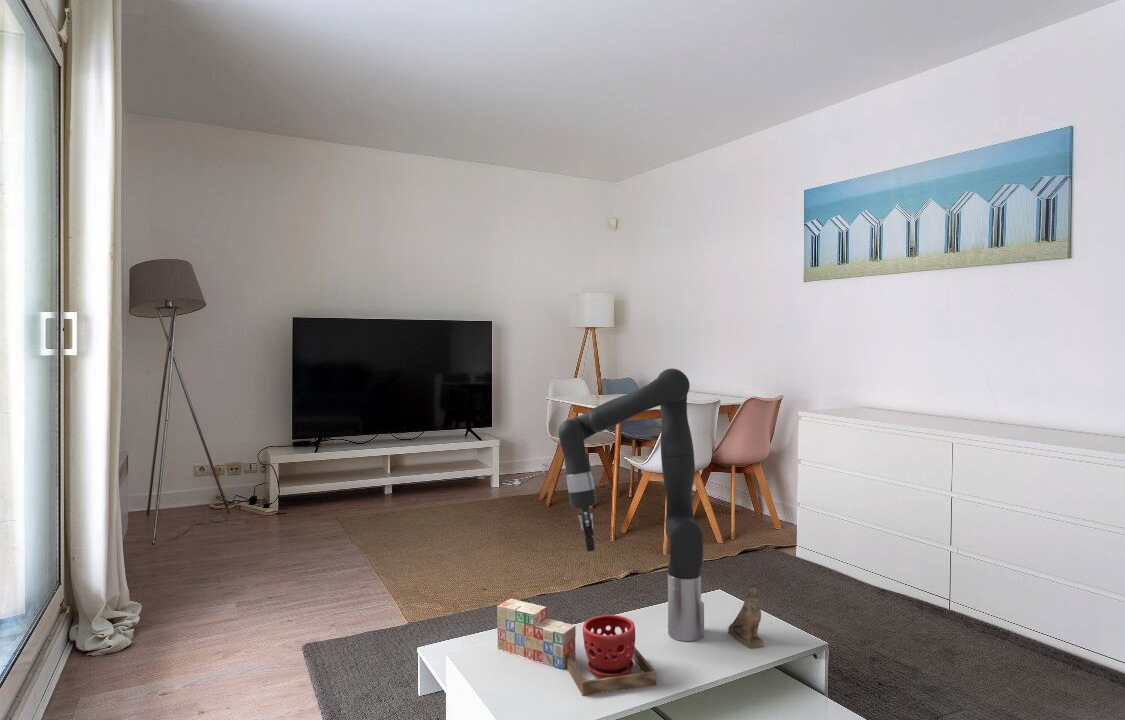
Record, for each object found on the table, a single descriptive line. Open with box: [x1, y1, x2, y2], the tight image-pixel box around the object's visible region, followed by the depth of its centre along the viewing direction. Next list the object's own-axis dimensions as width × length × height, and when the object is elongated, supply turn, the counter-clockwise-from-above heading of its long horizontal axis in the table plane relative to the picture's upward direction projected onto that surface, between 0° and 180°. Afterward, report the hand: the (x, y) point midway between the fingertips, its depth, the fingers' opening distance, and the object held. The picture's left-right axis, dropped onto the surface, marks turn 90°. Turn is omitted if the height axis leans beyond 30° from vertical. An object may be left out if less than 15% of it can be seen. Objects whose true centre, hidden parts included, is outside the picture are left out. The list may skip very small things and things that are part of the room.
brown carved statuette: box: [727, 585, 765, 650], centre depth 182 cm, size 12×6×18 cm, turn 14°
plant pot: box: [582, 614, 636, 679], centre depth 166 cm, size 13×13×12 cm
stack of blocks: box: [496, 598, 577, 670], centre depth 175 cm, size 21×6×12 cm, turn 57°
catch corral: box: [565, 646, 657, 697], centre depth 163 cm, size 19×14×3 cm
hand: (591, 550), depth 186 cm, fingers closed
